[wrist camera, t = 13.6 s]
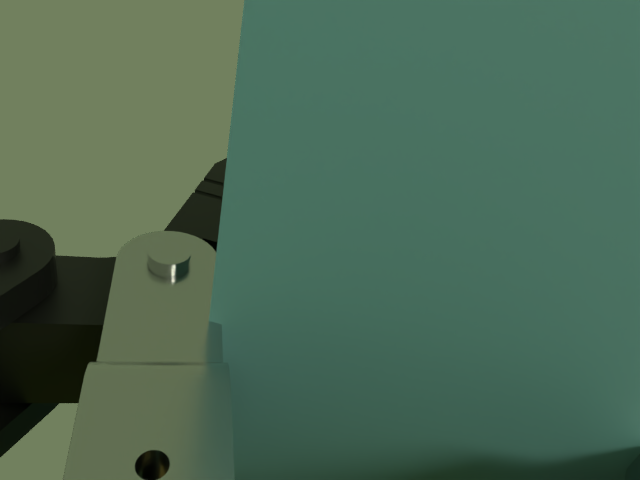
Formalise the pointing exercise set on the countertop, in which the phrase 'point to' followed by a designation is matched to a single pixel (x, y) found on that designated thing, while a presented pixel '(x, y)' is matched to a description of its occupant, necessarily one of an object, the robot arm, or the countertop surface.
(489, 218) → the teal block
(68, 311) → the robot arm
